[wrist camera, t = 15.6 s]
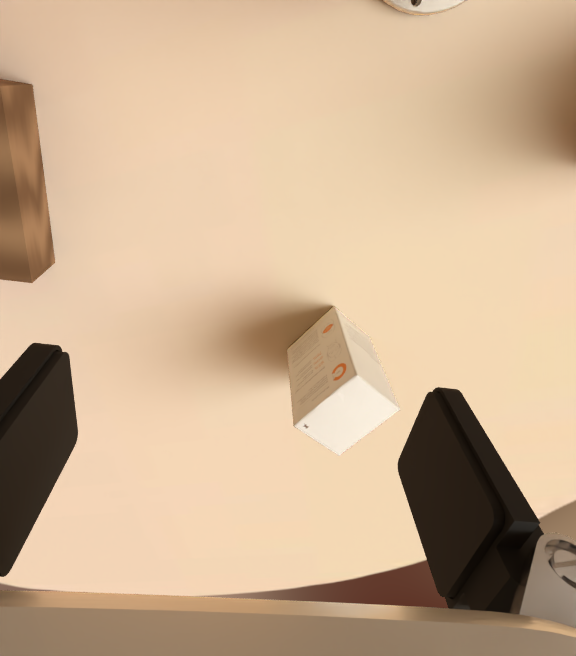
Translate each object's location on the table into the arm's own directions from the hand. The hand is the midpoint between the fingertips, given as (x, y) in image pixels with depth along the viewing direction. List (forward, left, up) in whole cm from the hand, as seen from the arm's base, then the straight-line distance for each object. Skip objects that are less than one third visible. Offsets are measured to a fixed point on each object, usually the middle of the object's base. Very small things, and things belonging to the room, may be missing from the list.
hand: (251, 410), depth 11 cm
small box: (+18, +10, -33) cm, 39 cm away
